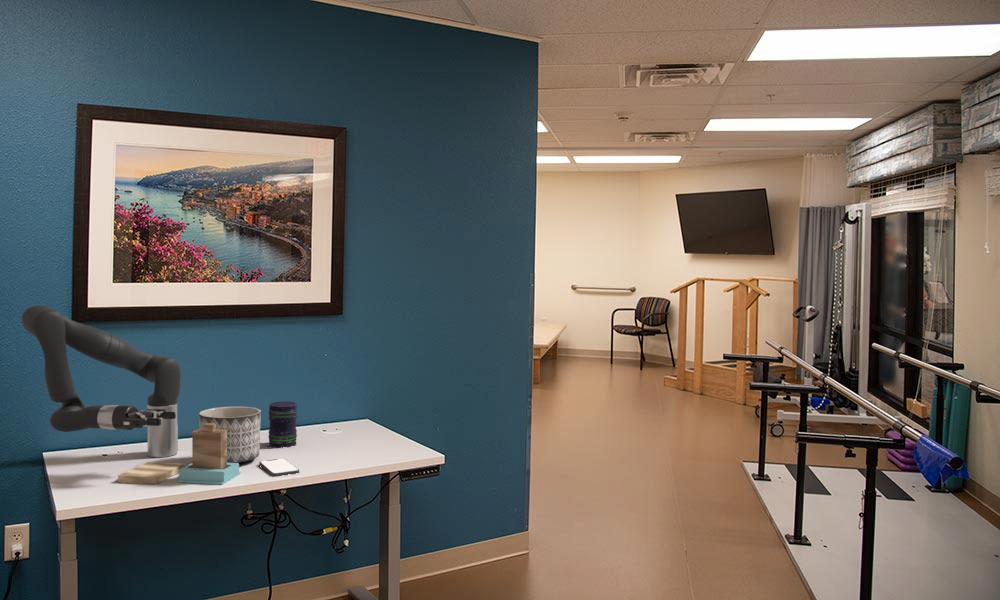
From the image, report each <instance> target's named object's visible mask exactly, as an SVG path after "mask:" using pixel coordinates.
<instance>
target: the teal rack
mask: <svg viewBox="0 0 1000 600" xmlns="http://www.w3.org/2000/svg"><path fill="white" fill-rule="evenodd" d="M178 474H179V477H178V480H177V483H181V482H186V484H200V483H203V485H205V484H206V485H218V484H221V485H220V486H222V485H225V484H226V483H228V482H229V481H231V480H233V479H234V478H236V477H238V476H239V475H241V472H240V464H239V463H227V468H226V469H204V468H192V462H191V463H190V464H188V465H186V466H185V465H184V467H183V468H181V469H179V473H178ZM237 475H238V476H237ZM232 478H233V479H232ZM227 481H228V482H227Z"/></svg>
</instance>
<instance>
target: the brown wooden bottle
mask: <svg viewBox="0 0 1000 600" xmlns="http://www.w3.org/2000/svg"><path fill="white" fill-rule="evenodd" d="M191 434H192V436H191V437H192V444H191V445H192V448H191V449H192V451H191V453H192V454H191V455H192V457H191V458H192V459H191V460H192V461H191V463H192V468H204V469H226V468H227V430H218V429H216V424H212V423H206V424H204V429H200V428H198V429H197V428H196V429H195V430H193V431H192V433H191Z"/></svg>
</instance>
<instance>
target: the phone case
mask: <svg viewBox="0 0 1000 600" xmlns="http://www.w3.org/2000/svg"><path fill="white" fill-rule="evenodd" d="M258 465H259V467H260V466H261V467H262V470H264V471H265V472H266V473H267V472H268V473H267V474H269V475H270V476H271V477H283V476H282V475H284V476H289V475H288V474H291V475H297V474H296V473H298V474H299V473H300V469H299V468H298V467H297V466H296V465H293V464H292V463H291V462H289V460H288V459H286V458H274V459H266V460H261V461H259V463H258ZM261 467H260V468H261Z"/></svg>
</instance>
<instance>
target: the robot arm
mask: <svg viewBox="0 0 1000 600" xmlns="http://www.w3.org/2000/svg"><path fill="white" fill-rule="evenodd" d="M21 323H22V326H23V328H24V329H25V331H27V332H28V333H29V334H31V335H32V336H34V337H35V338H36V339H37V341H38V343H39V345H40V347H41V349H42V352H43V357H44V369H43V370H44V380H45V381H44V382H45V383H46V388H47V392H48V397H49V398H50V401H52V402H54V403H61V406H60V407H59V408H58V409H56V410H55V411H54V412H52V414H51V416H50V418H49V423H50V426H51V427H52V428H53V429H55V430H56V431H58V432H62V433H68V432H69V433H70V432H76V431H83V430H86V429H105V430H111V431H113V430H114V431H115V430H117V431H132V430H134V429H142V428H143V427H147V456H148V457H150V458H165V457H172V456H174V455H176V454H178V451H179V425H178V399H179V396H180V393H181V377H182V376H181V375H182V374H181V373H182V372H181V365H180V364H179V362H178V361H177V360H176V359H175V358H172V357H166V356H160V355H154V354H151V353H147V352H144V351H141V350H139V349H137V348H135V347H134V346H132V345H131V344H130V343H129V342H128V341H126V340H124V339H123V338H121V337H119V336H118V335H115V334H112V333H111V332H107V331H105V330H102V329H100V328H98V327H94V326H90V325H88V324H84V323H81V322H78V321H75V320H72V319H71V318H68V317H67V316H65V315H62V314H61V313H60V312H59V311H57V310H55V309H53V308H52V307H50V306H48V305H42V304H39V305H33V306H30V307H28V308H26V310H25V311H23V313H22V315H21ZM67 346H68V347H70V348H71V349H73V350H76V352H79V353H80V354H83V355H84V356H86V357H88V358H90V359H93V360H95V361H98V362H100V363H103V364H105V365H108V366H112V367H115V368H119V369H124V370H127V371H129V372H131V373H133V374H134V375H137V376H139V377H141V378H143V379H145V380H146V381H148V382H150V383H153V384H154V390H153V393H152V394H150V395H149V396H147V409H143V410H140V411H139V410H138V408H137V407H136V406H135V405H126V404H125V405H124V404H123V405H122V404H121V405H120V404H110V405H89V406H87V407H85V404H84V402H83V401H82V399H81V398H80V396H79V394H78V393H77V392H76V389H75V385H74V381H73V377H72V373H71V369H70V364H69V359H68V351H67Z"/></svg>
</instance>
